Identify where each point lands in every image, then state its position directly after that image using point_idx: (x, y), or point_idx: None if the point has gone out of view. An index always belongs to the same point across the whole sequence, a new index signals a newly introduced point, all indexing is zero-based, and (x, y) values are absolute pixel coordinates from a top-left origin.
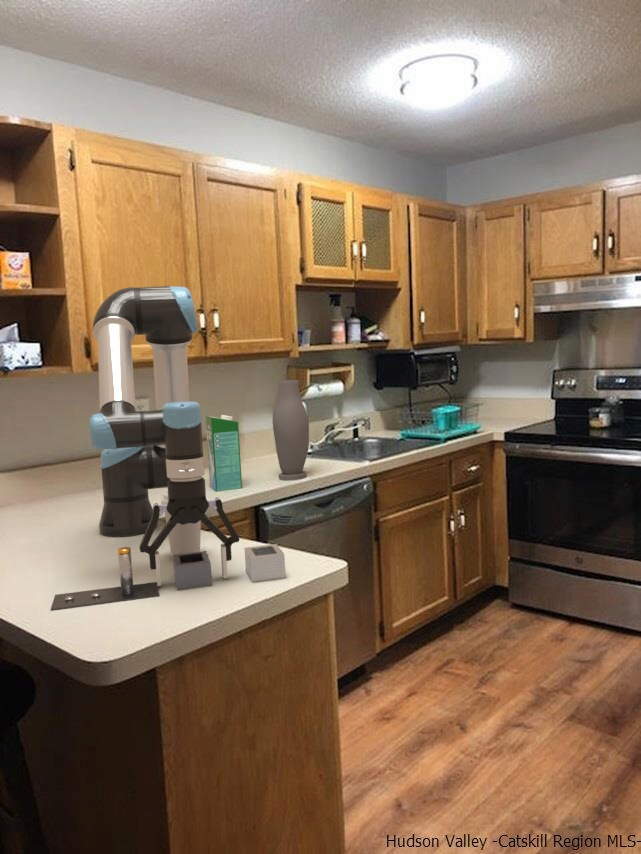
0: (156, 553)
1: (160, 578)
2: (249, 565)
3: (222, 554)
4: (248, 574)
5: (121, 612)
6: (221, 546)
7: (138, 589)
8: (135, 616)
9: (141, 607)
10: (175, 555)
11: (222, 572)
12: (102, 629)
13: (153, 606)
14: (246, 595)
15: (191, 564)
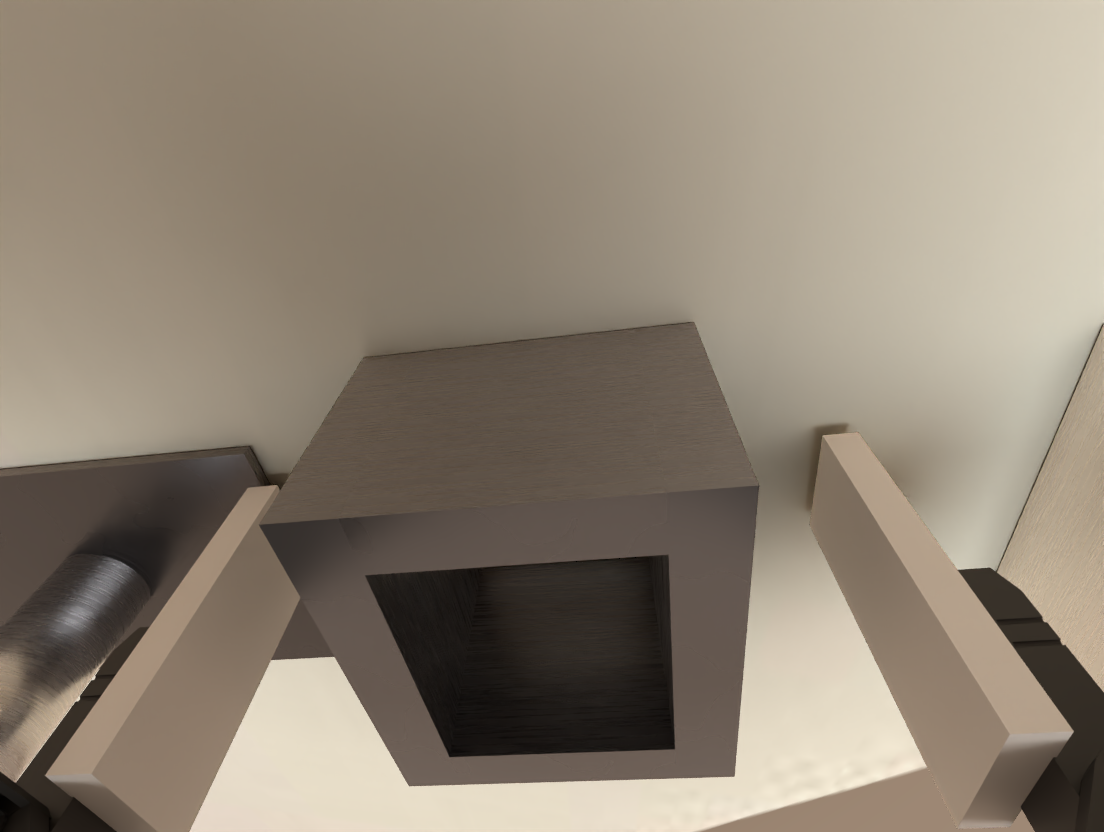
0: (125, 828)
1: (292, 609)
2: (1097, 633)
3: (910, 731)
4: (1049, 471)
5: (231, 748)
6: (973, 794)
7: (162, 560)
8: (320, 783)
9: (308, 729)
10: (308, 552)
11: (829, 482)
12: (235, 828)
13: (368, 731)
14: (862, 725)
15: (554, 779)
